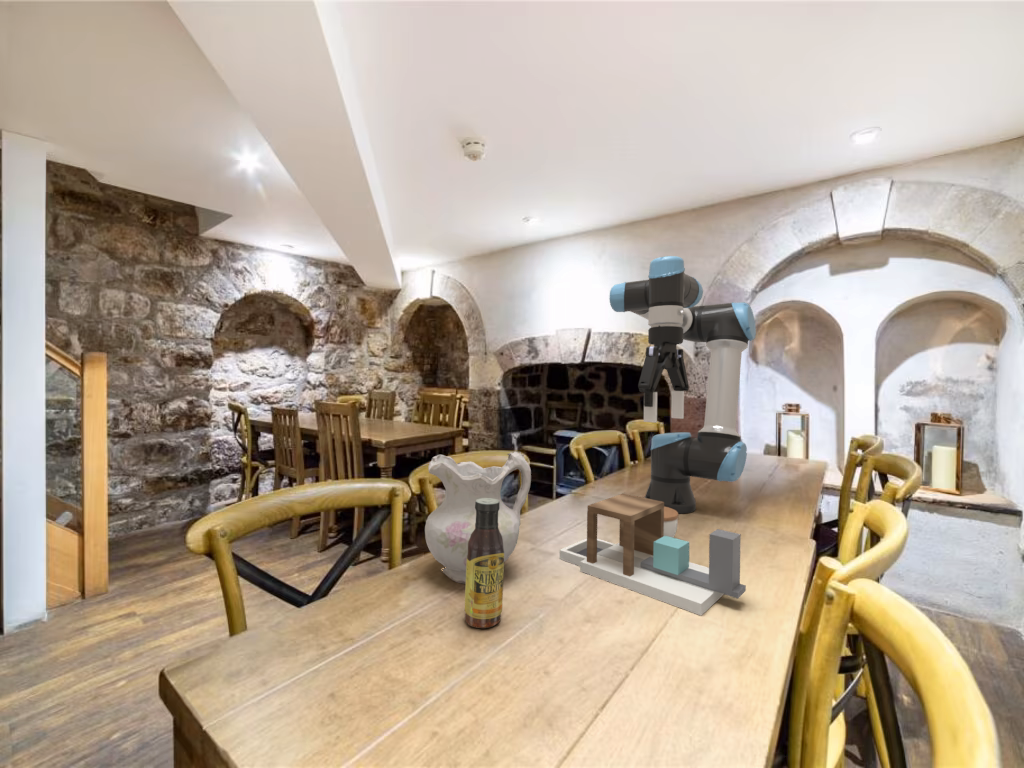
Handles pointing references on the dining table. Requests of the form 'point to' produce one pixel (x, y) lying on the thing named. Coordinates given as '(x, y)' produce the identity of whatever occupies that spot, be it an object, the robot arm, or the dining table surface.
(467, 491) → the ceramic pitcher
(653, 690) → the dining table surface
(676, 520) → the lidded jar
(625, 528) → the tunnel
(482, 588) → the sauce bottle
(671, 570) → the block
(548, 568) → the dining table surface
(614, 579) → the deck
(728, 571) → the grey l-shaped piece
